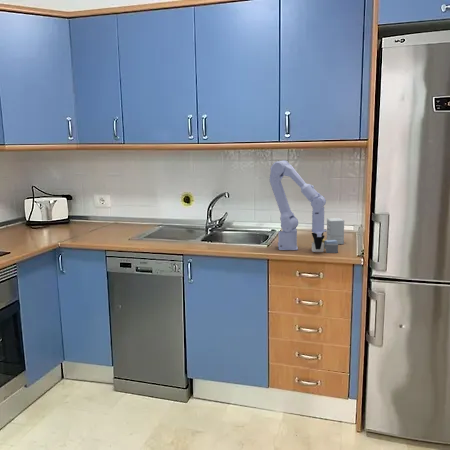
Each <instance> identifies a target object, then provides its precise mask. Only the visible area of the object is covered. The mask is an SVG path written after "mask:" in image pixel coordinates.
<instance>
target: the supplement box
mask: <svg viewBox="0 0 450 450" xmlns="http://www.w3.org/2000/svg"><path fill="white" fill-rule="evenodd" d="M326 230H327V231H326V240H336V241H337V244H338V245H344V243H345V242H344V241H345V220H344V219H342V218H341V217H332V218H330V217H329V218H326Z"/></svg>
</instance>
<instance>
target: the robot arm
mask: <svg viewBox="0 0 450 450" xmlns="http://www.w3.org/2000/svg"><path fill="white" fill-rule="evenodd" d="M284 176H285V177H290V179H291V180H292V181H294V183H295V184H296V185H297V186H298V187H299V188H300V192H301V193H302V195H303V196H304V197H305V198H306V199H307V201H309V203H310V206H311V207H312V213H311V214H312V215H311V219H312V220H311V221H312V222H311V236H312V238H313V239H314V242H315V248H316V249H320V248H321V244H322V241H323V239H325V235H324V232H325V233H327V228H326V229H325V205H326V202H327V200H326V198H325V196H323V195H321V193H320V192H318V191H317V190H316V189H315V186H314V185H313V184H311V183H306V181H305V180H304V179H303V177H301V175H300V174H299V173H298V171H296V169H295V168H294V167H293V165H292V164H291V163H289V161H287V160H286V159H282V160H278V161H274V163H273V164H272V165H271V167H270V174H269V183H270V186H271V190H272V192H273V196H274V198H275V201H276V204H277V208H278V210H279V212H280V217H279V218H280V227H281V229H282V230H279V231H278V233H277V234H278V236H277V237H278V239H277V240H278V241H277V247H278V250H279V251H298V250H299V247H298V237H297V236H298V231H297V230H298V229H297V227H298V226H299V220H298V218H297V217H296V216H295V214H294V212H293V211H292V210H291V207H290V204H289V201H288V199H287V195H286V193H285V190H284V186H283V184H282V183H283V182H282V179H283V178H284Z"/></svg>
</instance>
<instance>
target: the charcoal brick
mask: <svg viewBox="0 0 450 450" xmlns="http://www.w3.org/2000/svg"><path fill="white" fill-rule="evenodd" d="M325 253H326V254H339V244H326V249H325Z"/></svg>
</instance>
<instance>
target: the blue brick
mask: <svg viewBox="0 0 450 450" xmlns="http://www.w3.org/2000/svg"><path fill="white" fill-rule="evenodd" d="M326 244H337V241H336V240H327V239H325V244H324V250H326Z"/></svg>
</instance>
